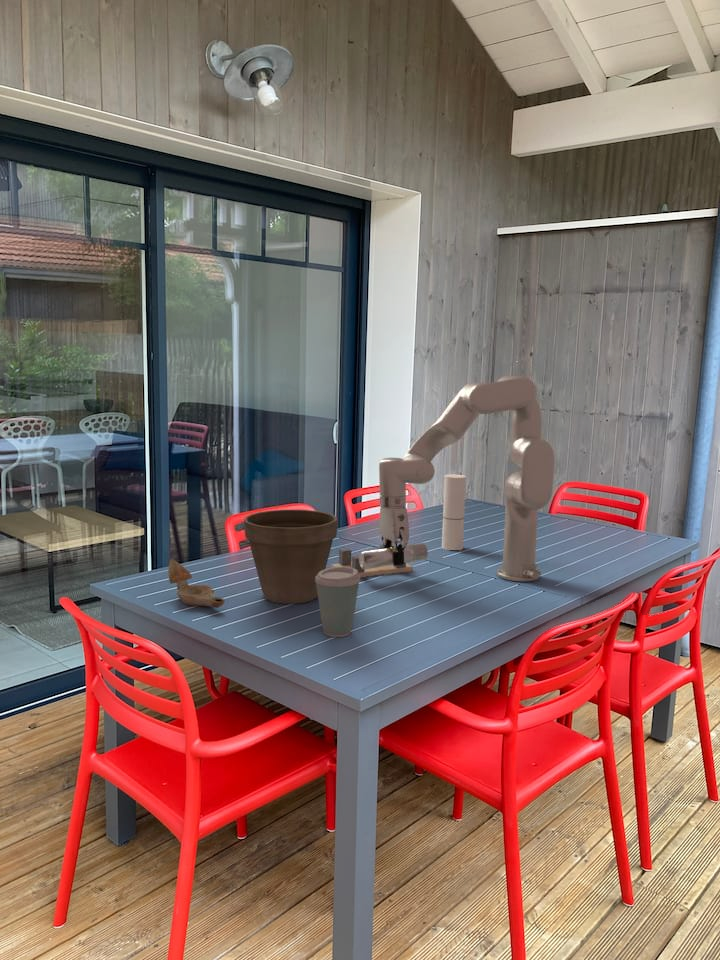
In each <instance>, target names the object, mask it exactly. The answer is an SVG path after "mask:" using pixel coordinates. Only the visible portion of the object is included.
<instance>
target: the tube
mask: <svg viewBox="0 0 720 960" xmlns="http://www.w3.org/2000/svg"><path fill="white" fill-rule="evenodd" d="M393 552H395V550H394V547H389V548H385V549H380V548H379V549H373V550H365V551H361V552H359V555H358V556H359V563H360V566H361V568H362V569H370V568H376V567H383V566H389V565H393ZM428 553H429V551H428V547H427V545H426V544H425V543H423V542H420V543H413V544H407V545H406V547H405V551H404V563H407V564H408V563H414V562H418V561H425V560H427V559H428V556H429V554H428Z"/></svg>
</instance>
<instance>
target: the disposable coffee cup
mask: <svg viewBox="0 0 720 960" xmlns="http://www.w3.org/2000/svg"><path fill="white" fill-rule="evenodd" d="M315 582H316V587H317V593H318V596H317V599H318V606H319V612H320V618H321V619H320V620H321V627H322V631H323V634H324V635H326V636H328V637H331V638H343V637H347V636H349V635H350V634H351V633H352V632H351V631H352V629H353V625H354V624H353V623H354V619H355V612H356V606H357V600H358V592H359V591H358V590H359V588H360V587H359V585H360V582H361V577H360V576H359V575H358V570H356V569H354V568H351V567H346V566H345V567H332V568H331V567H326V569H324V570H322V571H320V572H319V573H318V574H317V576H316V577H315Z"/></svg>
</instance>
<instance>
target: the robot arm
mask: <svg viewBox="0 0 720 960" xmlns="http://www.w3.org/2000/svg"><path fill="white" fill-rule="evenodd" d="M536 397H537V386H536V385H535V382H534V381H533V380H531V379H530V378H528V377H525V376H520V375H505V376H502V377H500V378H499V379H498V380H497V381H493V382H484V383H483V382H475V381H473V382H469V383H467V384H465V385H464V386H463V387H462V388H461V389H460V390H459V392H457V394H456V395H455V397H454V398H453V399H451V400H452V401H451V402H450V403H449V404H448V406H447V407H446V408H445V410H444V411H443V413H442V414H441V415H440V416H439V417H438V419H437V420H436V421H434V423H433V424H432V425H430V427H429V428H428V429H427V430H425V431H424V433H423V434H421V435H420V436H419V438H417V440H416V441H414V443H413V444H412V446H411V447H410V448H409V450H408V451H407V452H406V454H405V455H404V456H403V458H402V457H401V458H400V457H384V458H382V459H381V460H380V461H379V464H378V465H379V466H378V472H379V473H378V474H379V475H378V476H379V478H378V479H379V481H378V482H379V508H380V510H379V535H380V537H381V541H382V545H383V549H385V548H389V547H394V550H395V552H393V565H395V566H397V565H403V564H404V551H405V547H406V545H409V540H410V524H409V515H408V509H407V496H406V495H407V484H413V485H414V484H415V485H424V484H427V483H429V482H431V481H432V479H433V478H434V476H435V465H434V464H433V463H432V461H433V459H434V458H435V457H436V456H437V455H438V454H439V453H440V452H441V451H442V450H443V449H445V448H446V447H448V446H450V445H453V444H456V443H457V442H458V441H459V440H461V439H462V437H463V436H464V435H465V433H466V432H468V430H469V428H470V427H471V426H472V424H473V423H474V422H475V421H476V419H478V417H479V415H490V414H495V413H496V414H497V413H501V412H507V411H509V413H510V417H511V436H510V449H509V456H510V459H511V461H512V463H513V464H515V465H516V466H518V467H520V468H521V469H520V470H519V471H515V472H513V473H511V474H510V475H509V476H508V477H507V478H506V480H505V484H504V486H503V492H504V493H503V495H504V497H503V498H504V505H505V506H504V507H505V508H504V509H505V510H504V531H503V532H504V533H503V547H502V548H503V550H502V566H501V567H500V568H498V569H497V570H496V576H498V577H499V578H501V579H504V580H507V581H512V582H522V583H525V582H533V581H537V580H538V579H540V576H541V575H542V572H541V570H537V569H538V568H537V567H538V565H537V563H536V556H537V553H536V552H537V551H536V550H537V537H538V523H539V518H538V517H539V514H538V510H542V509H543V508H545V507H546V506H547V505H548V504H549V502H550V501H551V499H552V494H553V488H554V487H553V486H554V475H555V474H554V473H555V472H554V471H555V453H554V450H553V447H552V446H551V444H550V443H549V442H548V441H547V440H545V439H543V438H542V422H543V421H542V411H541V407H540V405H539V404H540V403H539V401H538V400H537V398H536Z"/></svg>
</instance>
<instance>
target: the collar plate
mask: <svg viewBox="0 0 720 960" xmlns="http://www.w3.org/2000/svg"><path fill="white" fill-rule="evenodd" d="M379 549H383V544H382V545H379ZM345 566H346V567H351V568H354V569H356V570H358V575H359V576H360V578H367V577H366V576H369V577H375V576H374V575H377V576H383V575H382V574H385V575H392V574H391V573H394V574H399V573H400V574H401V572H402V573H409V572H414V566H413V565H411V564H409V563H408V562H407V563H404V564H403V565H397V566H395V565H389V566H383V567H376V568H370V569H362V568H361V566H360V563H359V555H355V556H352V550H351V549H350V548H342V549H341V548H340V549H338V563H331V565H330V568H332V567H345Z"/></svg>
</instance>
